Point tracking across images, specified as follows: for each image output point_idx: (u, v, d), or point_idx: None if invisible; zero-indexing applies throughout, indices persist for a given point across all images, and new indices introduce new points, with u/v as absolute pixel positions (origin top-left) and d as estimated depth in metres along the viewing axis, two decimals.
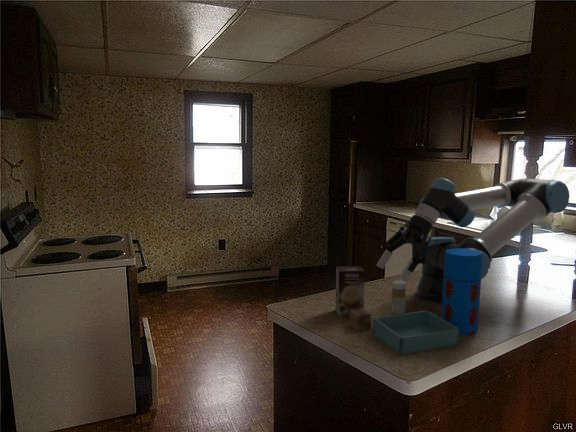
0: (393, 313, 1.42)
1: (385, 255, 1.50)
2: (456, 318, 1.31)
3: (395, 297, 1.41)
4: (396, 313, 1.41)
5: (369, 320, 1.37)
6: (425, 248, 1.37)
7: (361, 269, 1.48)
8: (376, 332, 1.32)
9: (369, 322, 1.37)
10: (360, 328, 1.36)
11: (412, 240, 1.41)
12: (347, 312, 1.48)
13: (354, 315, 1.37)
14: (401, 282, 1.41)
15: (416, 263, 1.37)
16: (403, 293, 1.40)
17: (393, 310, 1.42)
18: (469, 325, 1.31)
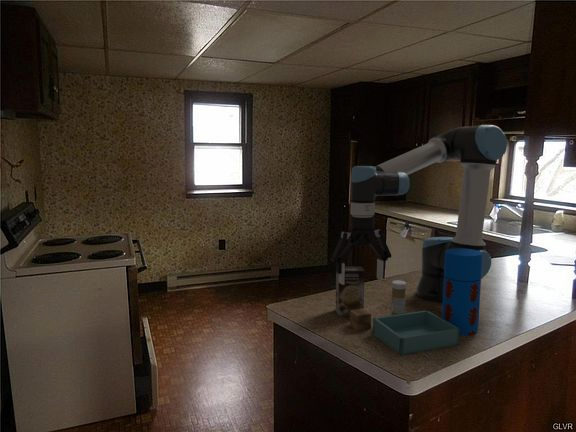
0: (393, 313, 1.42)
1: None
2: (456, 318, 1.31)
3: (395, 297, 1.41)
4: (396, 313, 1.41)
5: (369, 320, 1.37)
6: None
7: (361, 269, 1.48)
8: (376, 332, 1.32)
9: (369, 322, 1.37)
10: (360, 327, 1.36)
11: (372, 242, 1.34)
12: (347, 312, 1.48)
13: (354, 315, 1.37)
14: (401, 282, 1.41)
15: None
16: (403, 293, 1.40)
17: (393, 310, 1.42)
18: (469, 325, 1.31)
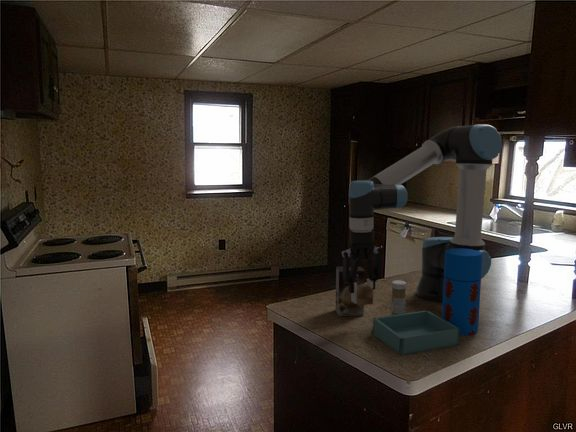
0: (393, 313, 1.42)
1: None
2: (456, 318, 1.31)
3: (395, 297, 1.41)
4: (396, 313, 1.41)
5: (371, 295, 1.36)
6: None
7: (361, 269, 1.48)
8: (376, 332, 1.32)
9: (371, 297, 1.36)
10: (361, 303, 1.35)
11: (369, 258, 1.35)
12: (347, 312, 1.48)
13: None
14: (401, 282, 1.41)
15: None
16: (403, 293, 1.40)
17: (393, 310, 1.42)
18: (469, 325, 1.31)
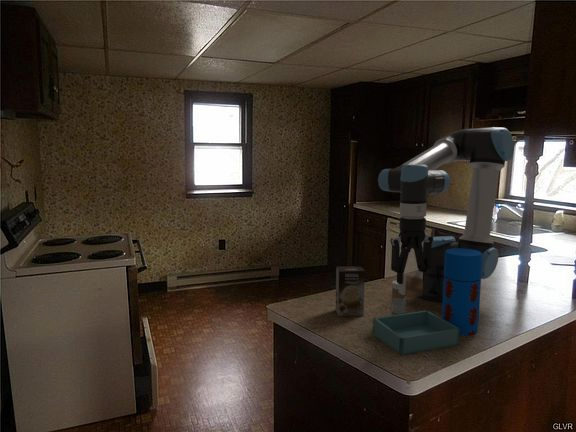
0: (393, 313, 1.42)
1: None
2: (456, 318, 1.31)
3: (395, 297, 1.41)
4: (396, 313, 1.41)
5: (420, 286, 1.28)
6: None
7: (361, 269, 1.48)
8: (376, 332, 1.32)
9: (420, 288, 1.28)
10: (411, 294, 1.27)
11: (420, 247, 1.27)
12: (347, 312, 1.48)
13: None
14: None
15: None
16: None
17: (393, 310, 1.42)
18: (469, 325, 1.31)
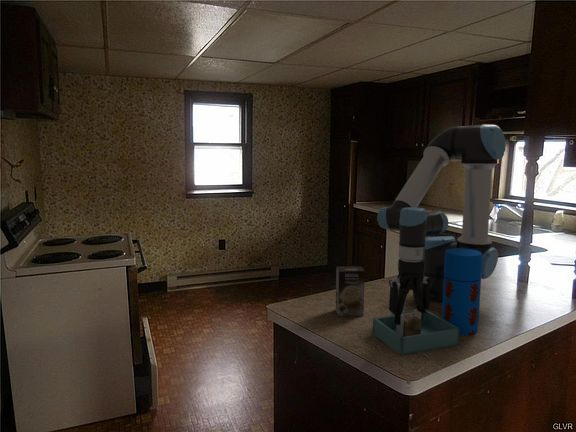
0: (393, 313, 1.42)
1: None
2: (456, 318, 1.31)
3: None
4: None
5: (419, 327, 1.30)
6: None
7: (361, 269, 1.48)
8: (376, 332, 1.32)
9: (419, 329, 1.30)
10: (409, 334, 1.29)
11: (418, 289, 1.29)
12: (347, 312, 1.48)
13: None
14: None
15: None
16: None
17: None
18: (469, 325, 1.31)
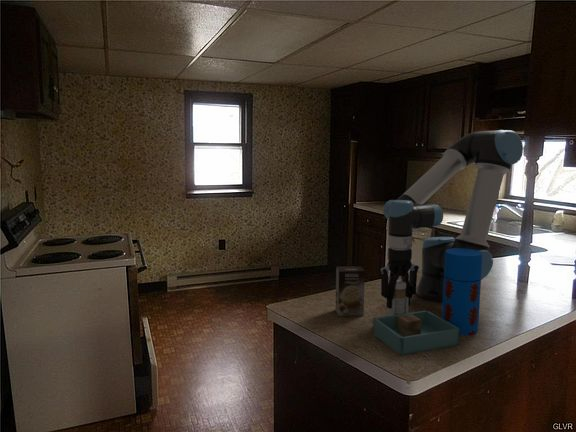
0: None
1: None
2: (456, 318, 1.31)
3: (395, 297, 1.41)
4: (396, 313, 1.41)
5: (419, 327, 1.30)
6: None
7: (361, 269, 1.48)
8: (376, 332, 1.32)
9: (419, 329, 1.30)
10: (409, 334, 1.29)
11: (406, 275, 1.40)
12: (347, 312, 1.48)
13: (403, 321, 1.30)
14: (401, 282, 1.41)
15: None
16: (403, 293, 1.40)
17: None
18: (469, 325, 1.31)
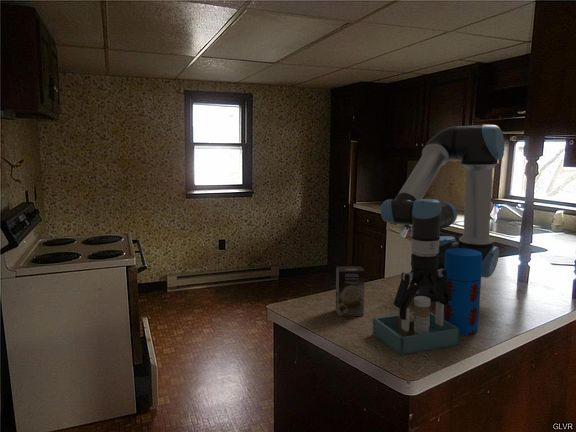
0: (416, 334, 1.25)
1: None
2: (456, 318, 1.31)
3: (418, 315, 1.23)
4: None
5: None
6: None
7: (361, 269, 1.48)
8: (376, 332, 1.32)
9: None
10: (409, 334, 1.29)
11: (435, 283, 1.22)
12: (347, 312, 1.48)
13: None
14: (425, 298, 1.24)
15: None
16: (427, 311, 1.23)
17: (416, 330, 1.24)
18: (469, 325, 1.31)
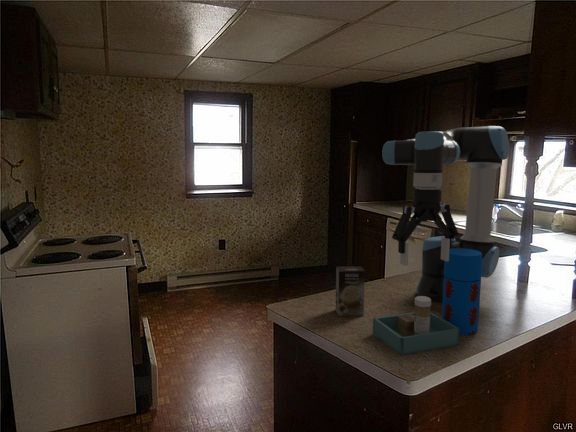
0: (416, 333, 1.25)
1: None
2: (456, 318, 1.31)
3: (418, 315, 1.23)
4: None
5: None
6: None
7: (361, 269, 1.48)
8: (376, 332, 1.32)
9: None
10: (409, 334, 1.29)
11: (438, 218, 1.20)
12: (347, 312, 1.48)
13: (403, 321, 1.30)
14: (425, 298, 1.24)
15: None
16: (428, 311, 1.23)
17: (416, 330, 1.24)
18: (469, 325, 1.31)
